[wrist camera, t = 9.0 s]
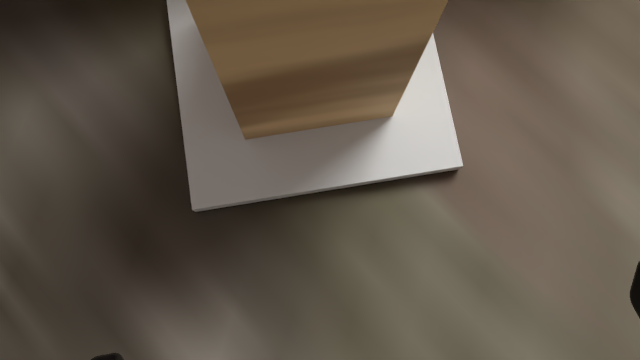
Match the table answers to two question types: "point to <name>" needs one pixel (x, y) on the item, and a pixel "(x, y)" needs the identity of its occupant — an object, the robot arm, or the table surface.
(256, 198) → the wall board
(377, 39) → the tan rectangular block
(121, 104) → the table surface
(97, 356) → the robot arm
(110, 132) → the table surface
